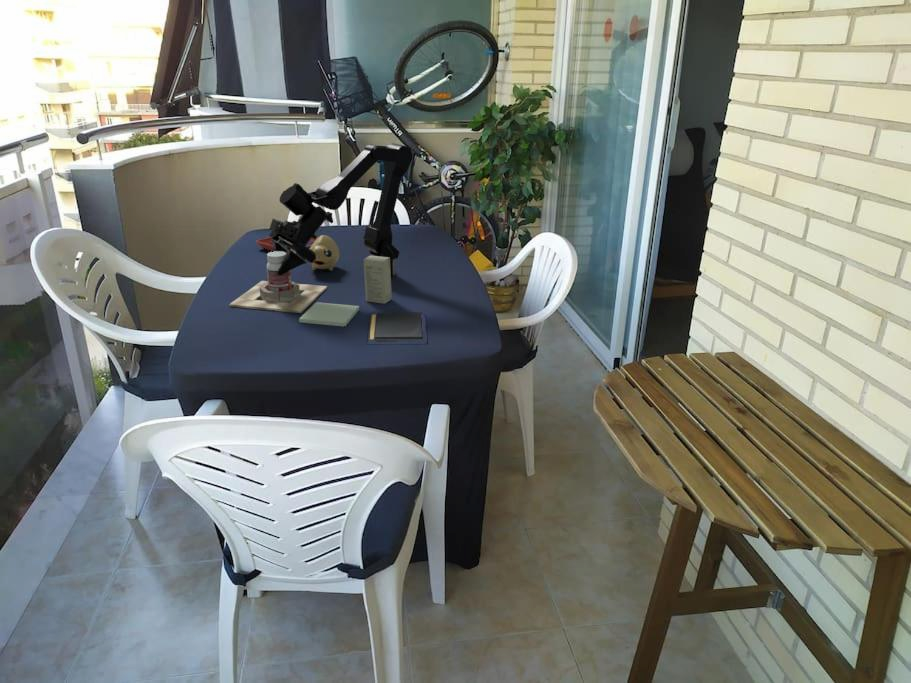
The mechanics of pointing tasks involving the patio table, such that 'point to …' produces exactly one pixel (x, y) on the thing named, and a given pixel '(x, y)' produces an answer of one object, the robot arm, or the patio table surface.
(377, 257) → the skincare box
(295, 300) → the collar plate
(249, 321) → the patio table surface
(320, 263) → the beige toy figure
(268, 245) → the red square frame
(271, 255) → the pill bottle
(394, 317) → the dark book
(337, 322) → the green mat
